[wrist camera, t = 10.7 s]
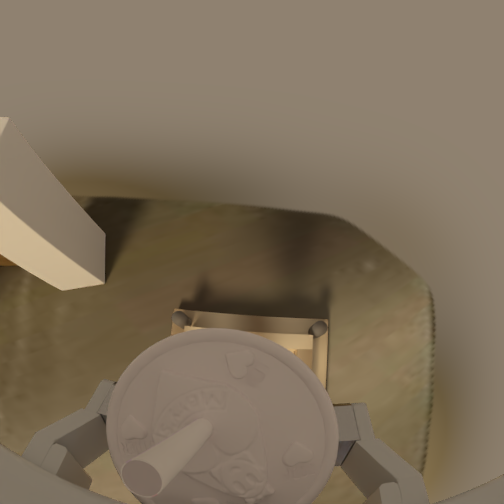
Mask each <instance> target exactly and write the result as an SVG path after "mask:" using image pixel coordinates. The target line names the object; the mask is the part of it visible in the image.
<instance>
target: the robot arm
mask: <svg viewBox="0 0 504 504" xmlns="http://www.w3.org/2000/svg"><path fill="white" fill-rule="evenodd" d="M116 383H117V382H115V381H111V380H107V379H104V380H102V381H101V382H100V384H99V386H98V387H97V389H96V391H95V392H94V394H93V396H92V397H91V399H90V401H89V403H88V404H87V406H86V408H85V409H82V408H81V409H79V410H78V411H76V412H74V413H72V414H70V415H68V416H66V417H64V418H63V419H61V420H59V421H57V422H55V423H53V424H51V425H49V426H47V427H45V428H43V429H41V430H39V431H37V432H36V433H35V434H34V436H33V438H32V439H31V441H30V443H29V444H28V446H27V448H26V449H25V451H24V453H23V455H22V456H20V455H18V454H16V453H15V452H13V451H11V450H10V449H8V448H7V447H5V446H4V445H2V444H1V443H0V504H127V503H123V502H120V501H117V500H114V499H112V498H109V497H106V496H103V495H100V494H98V493H95V492H93V491H90V490H89V487H90V485H91V482H92V479H91V477H90V476H89V475H88V474H87V472H86V471H85V470H84V469H83V468H85V467H86V466H87V465H89V464H90V463H91V462H93V461H94V460H95V459H97V458H98V457H99V456H101V455H102V454H103V453H105V452H106V451H107V450H109V447H108V442H107V434H106V419H107V411H108V406H109V401H110V398H111V395H112V392H113V390H114V388H115V385H116ZM333 407H334V410H335V413H336V418H337V423H338V433H339V443H338V452H337V458H336V461H335V465H334V466H341V468H342V469H343V470H344V472H345V473H346V474H347V475H348V477H349V478H350V479H351V480H352V481H353V483H354V484H355V485H356V486H357V487H358V488H359V490H360V491H361V492H362V493H363V494H364V496H365V497H366V498H367V500H366V501H365V502H364V503H363V504H430V503H429V499H428V495H427V492H426V488H425V484H424V481H423V477H422V474H420V473H419V472H418V471H417V470H415V469H414V468H413V467H412V466H411V465H410V464H408V463H407V462H406V461H405V460H404V459H402V458H401V457H400V456H399V455H398V454H397V453H395V452H394V451H393V450H392V449H391V448H390V447H388V446H387V445H386V444H385V443H384V442H383V441H382V440H380V439H379V438H378V439H375V436H374V432H373V428H372V424H371V420H370V416H369V413H368V409H367V405H366V404H365V403H351V404H350V403H344V404H333ZM433 504H504V474H503V475H501V476H499V477H497V478H495V479H493V480H491V481H489V482H487V483H485V484H482V485H480V486H478V487H476V488H473V489H471V490H468V491H466V492H464V493H461V494H459V495H456V496H453V497H450V498H448V499H445V500H442V501H439V502H436V503H433Z"/></svg>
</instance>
